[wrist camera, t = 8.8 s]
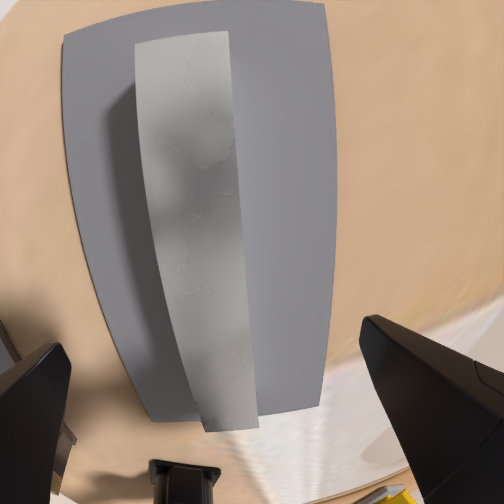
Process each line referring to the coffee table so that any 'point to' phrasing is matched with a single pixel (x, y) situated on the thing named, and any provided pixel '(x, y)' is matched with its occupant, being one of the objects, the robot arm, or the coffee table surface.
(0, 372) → the grey stand
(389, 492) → the yellow framed monitor
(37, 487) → the robot arm
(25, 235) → the coffee table surface
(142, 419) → the coffee table surface
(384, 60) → the coffee table surface
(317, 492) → the coffee table surface
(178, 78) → the rail
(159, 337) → the mat
